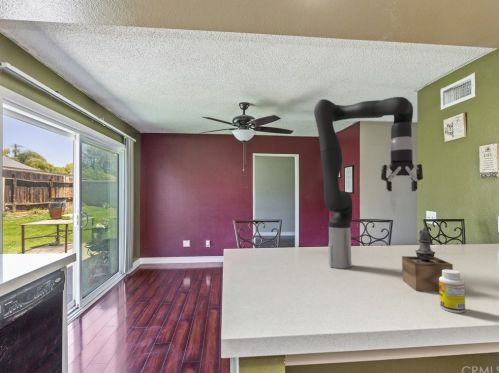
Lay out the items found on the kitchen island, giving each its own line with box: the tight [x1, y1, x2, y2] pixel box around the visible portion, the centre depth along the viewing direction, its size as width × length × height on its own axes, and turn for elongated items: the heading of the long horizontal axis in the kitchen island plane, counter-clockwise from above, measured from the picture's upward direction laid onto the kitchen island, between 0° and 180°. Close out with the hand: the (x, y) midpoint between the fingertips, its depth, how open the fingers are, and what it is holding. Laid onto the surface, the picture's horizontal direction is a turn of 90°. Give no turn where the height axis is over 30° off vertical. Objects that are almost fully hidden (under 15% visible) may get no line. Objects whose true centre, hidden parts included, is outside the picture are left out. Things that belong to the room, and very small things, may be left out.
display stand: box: [401, 255, 454, 293], centre depth 94 cm, size 11×11×9 cm
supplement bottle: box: [438, 269, 466, 314], centre depth 75 cm, size 6×6×10 cm
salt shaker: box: [414, 226, 436, 263], centre depth 94 cm, size 6×6×12 cm
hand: (401, 191), depth 108 cm, fingers open, 8 cm apart
